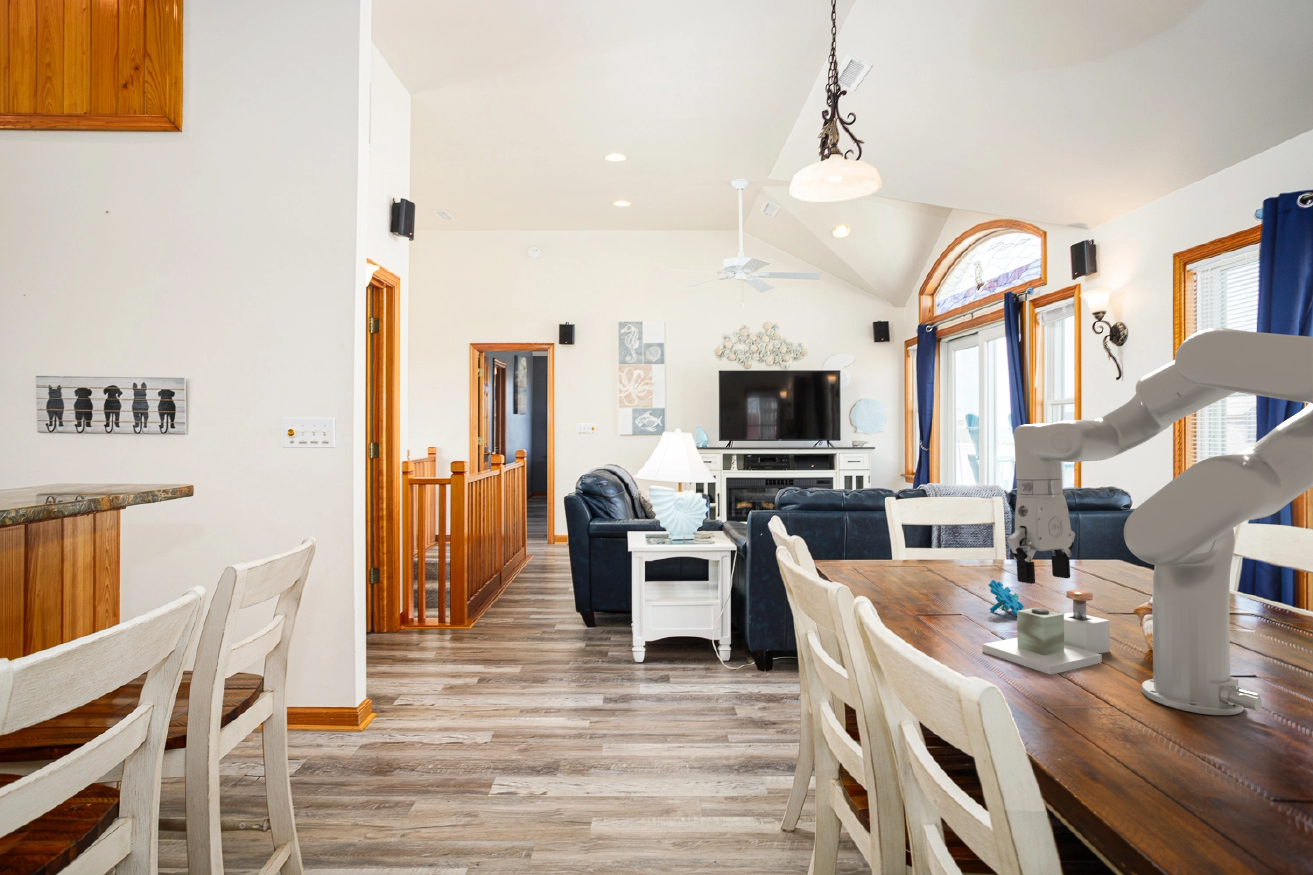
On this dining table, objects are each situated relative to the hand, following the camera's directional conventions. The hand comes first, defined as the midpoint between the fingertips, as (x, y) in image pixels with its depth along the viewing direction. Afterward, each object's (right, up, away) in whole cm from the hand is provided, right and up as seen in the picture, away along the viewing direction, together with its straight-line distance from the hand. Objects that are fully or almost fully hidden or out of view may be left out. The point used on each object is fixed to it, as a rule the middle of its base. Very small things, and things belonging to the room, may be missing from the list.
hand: (1044, 579), depth 126 cm
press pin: (+10, -10, +5) cm, 15 cm away
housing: (0, -13, +1) cm, 13 cm away
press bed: (+3, -15, +2) cm, 15 cm away
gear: (+10, -15, +32) cm, 36 cm away
